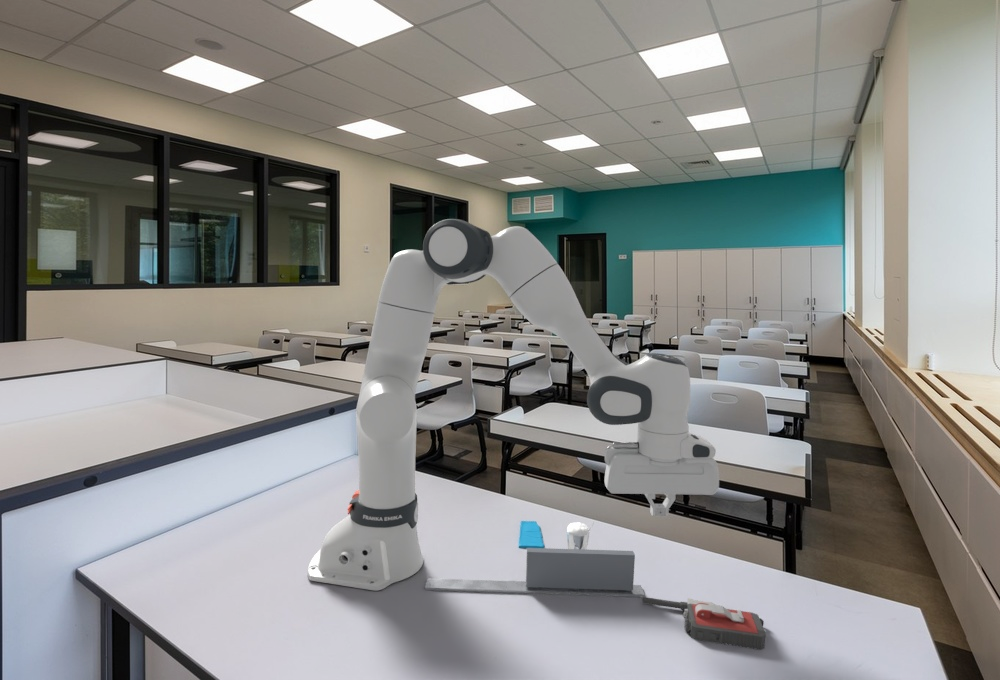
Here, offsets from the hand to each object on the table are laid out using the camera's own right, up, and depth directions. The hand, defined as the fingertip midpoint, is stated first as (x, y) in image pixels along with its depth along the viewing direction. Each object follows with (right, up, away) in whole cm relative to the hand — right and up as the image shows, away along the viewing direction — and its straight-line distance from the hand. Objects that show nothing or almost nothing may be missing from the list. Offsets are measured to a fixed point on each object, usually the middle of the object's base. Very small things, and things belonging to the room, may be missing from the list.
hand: (659, 514), depth 97 cm
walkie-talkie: (+5, -17, -7) cm, 19 cm away
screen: (-15, -15, +2) cm, 21 cm away
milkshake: (-13, -14, +10) cm, 22 cm away
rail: (-23, -15, +2) cm, 27 cm away
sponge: (-22, -13, +23) cm, 35 cm away
